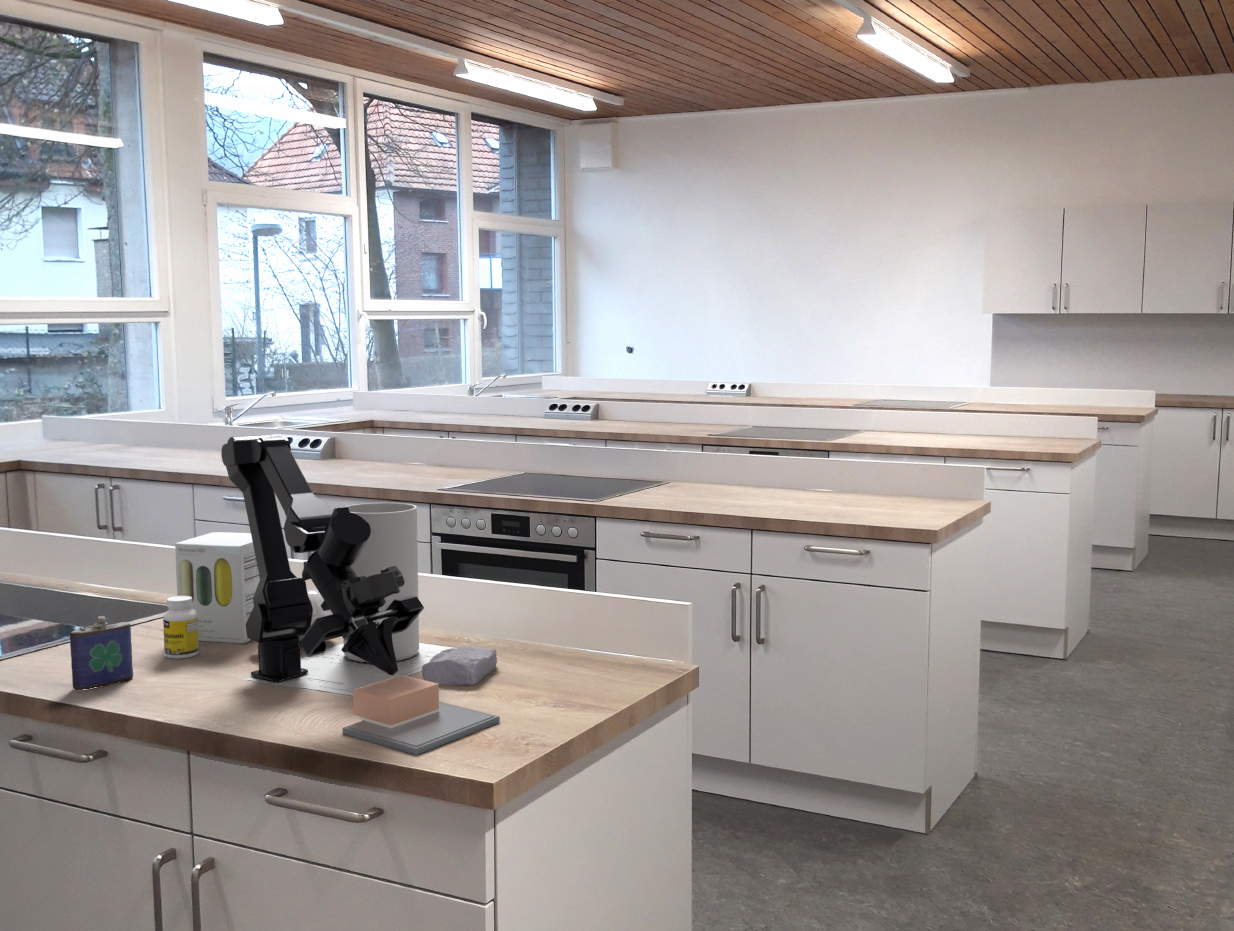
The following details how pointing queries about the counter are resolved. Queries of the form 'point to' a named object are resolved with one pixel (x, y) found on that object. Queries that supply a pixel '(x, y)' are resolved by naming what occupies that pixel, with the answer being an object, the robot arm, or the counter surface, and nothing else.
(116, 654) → the flask
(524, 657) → the counter surface
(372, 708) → the salmon orange block
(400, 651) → the cylinder vase
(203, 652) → the counter surface
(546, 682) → the counter surface
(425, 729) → the slate board
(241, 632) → the supplement box
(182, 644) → the supplement bottle
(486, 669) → the stone block
